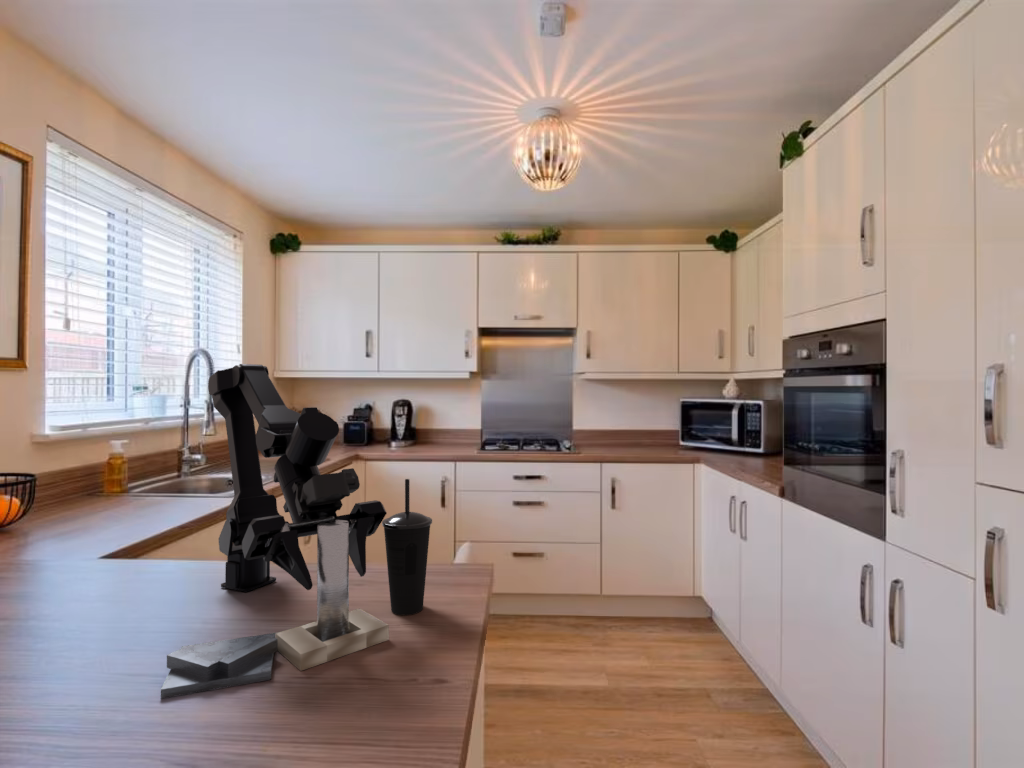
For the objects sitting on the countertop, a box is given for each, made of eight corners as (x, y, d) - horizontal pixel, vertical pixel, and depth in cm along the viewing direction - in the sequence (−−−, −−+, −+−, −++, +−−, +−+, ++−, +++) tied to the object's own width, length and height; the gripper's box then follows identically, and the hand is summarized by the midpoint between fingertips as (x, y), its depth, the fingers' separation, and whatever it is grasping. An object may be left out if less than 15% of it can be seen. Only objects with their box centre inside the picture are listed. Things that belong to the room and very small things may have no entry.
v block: (177, 654, 70) (177, 635, 70) (279, 639, 74) (279, 621, 74) (155, 699, 60) (155, 676, 60) (275, 678, 64) (275, 657, 64)
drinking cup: (441, 604, 86) (441, 477, 87) (413, 622, 79) (413, 484, 80) (401, 596, 90) (401, 474, 90) (371, 613, 83) (371, 481, 83)
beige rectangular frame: (300, 671, 66) (300, 654, 66) (275, 648, 71) (275, 633, 71) (388, 639, 74) (388, 624, 74) (359, 622, 80) (359, 608, 80)
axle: (332, 635, 75) (332, 518, 76) (355, 640, 74) (355, 521, 74) (310, 647, 72) (310, 525, 72) (334, 653, 70) (334, 528, 70)
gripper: (249, 456, 70) (282, 562, 61) (380, 446, 82) (422, 532, 74) (229, 509, 75) (257, 613, 67) (354, 492, 88) (391, 577, 80)
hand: (337, 581), depth 72 cm, fingers open, 7 cm apart
